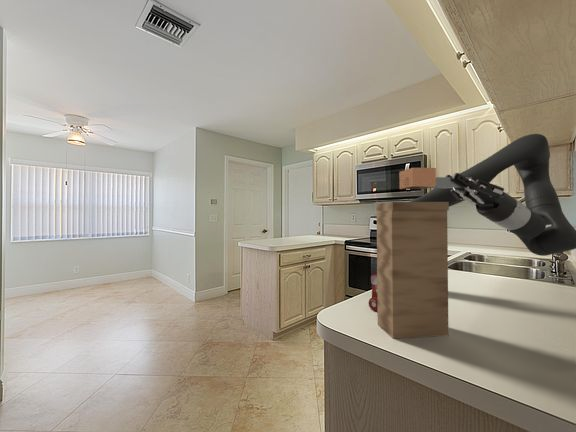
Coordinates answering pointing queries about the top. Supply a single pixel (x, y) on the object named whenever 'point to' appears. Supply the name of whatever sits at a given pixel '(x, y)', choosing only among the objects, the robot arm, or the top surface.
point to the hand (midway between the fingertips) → (449, 177)
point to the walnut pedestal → (412, 268)
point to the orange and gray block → (425, 179)
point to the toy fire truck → (373, 294)
